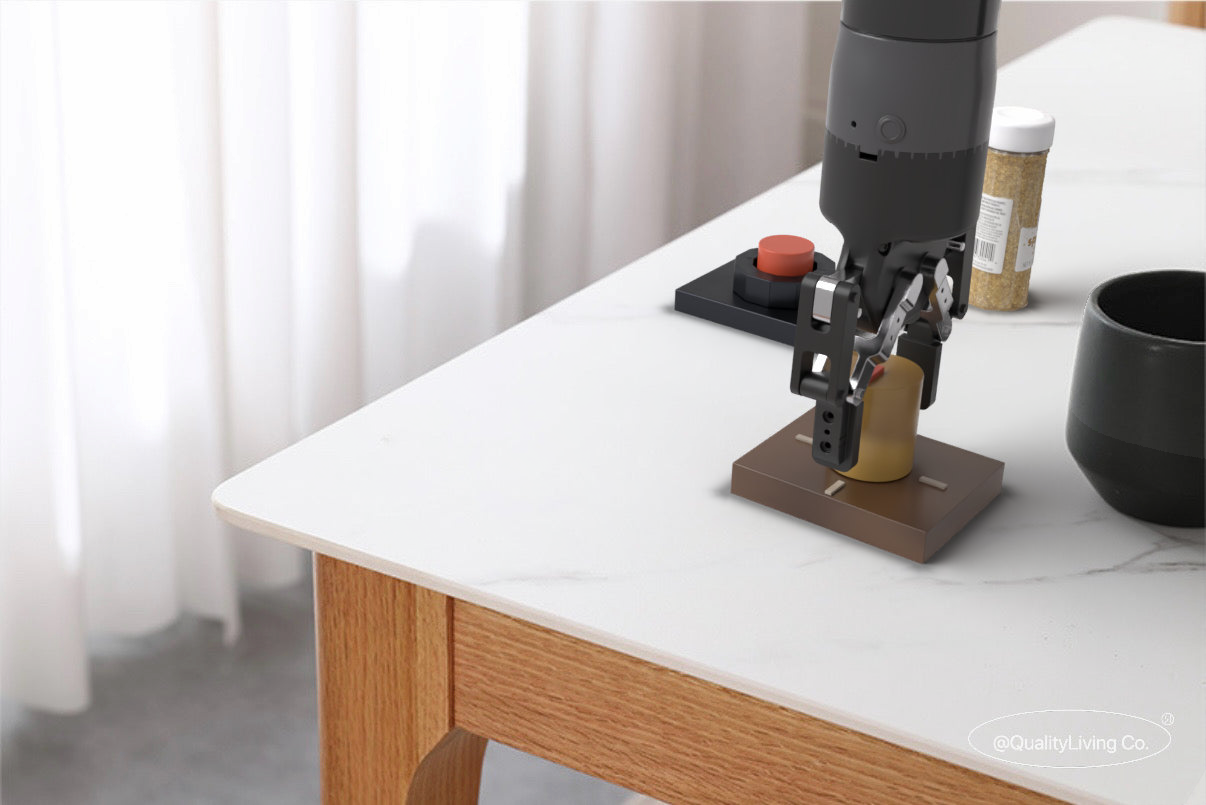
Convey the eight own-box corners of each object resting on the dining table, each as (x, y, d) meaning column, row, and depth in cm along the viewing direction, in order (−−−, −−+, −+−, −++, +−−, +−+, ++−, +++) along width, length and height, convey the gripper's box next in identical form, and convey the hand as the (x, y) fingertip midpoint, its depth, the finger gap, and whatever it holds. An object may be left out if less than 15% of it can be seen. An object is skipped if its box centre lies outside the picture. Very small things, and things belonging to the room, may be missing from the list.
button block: (887, 320, 104) (893, 264, 102) (819, 365, 97) (824, 305, 95) (746, 280, 109) (750, 226, 108) (673, 320, 103) (675, 263, 101)
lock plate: (999, 504, 82) (1006, 459, 81) (921, 577, 76) (927, 529, 74) (816, 441, 88) (820, 399, 87) (729, 504, 81) (732, 459, 80)
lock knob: (850, 433, 83) (859, 339, 81) (926, 457, 81) (939, 361, 79) (811, 465, 80) (820, 368, 78) (890, 491, 78) (901, 391, 75)
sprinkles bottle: (1039, 318, 104) (1069, 121, 98) (976, 323, 103) (1003, 125, 97) (1007, 293, 108) (1035, 102, 102) (946, 297, 107) (971, 105, 101)
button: (822, 268, 102) (825, 242, 101) (794, 284, 99) (796, 258, 99) (775, 255, 104) (777, 230, 103) (746, 270, 101) (748, 245, 101)
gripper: (904, 78, 80) (874, 368, 87) (757, 141, 69) (737, 464, 76) (1045, 104, 76) (1001, 405, 83) (911, 175, 65) (875, 512, 72)
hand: (874, 433), depth 80 cm, fingers open, 8 cm apart
